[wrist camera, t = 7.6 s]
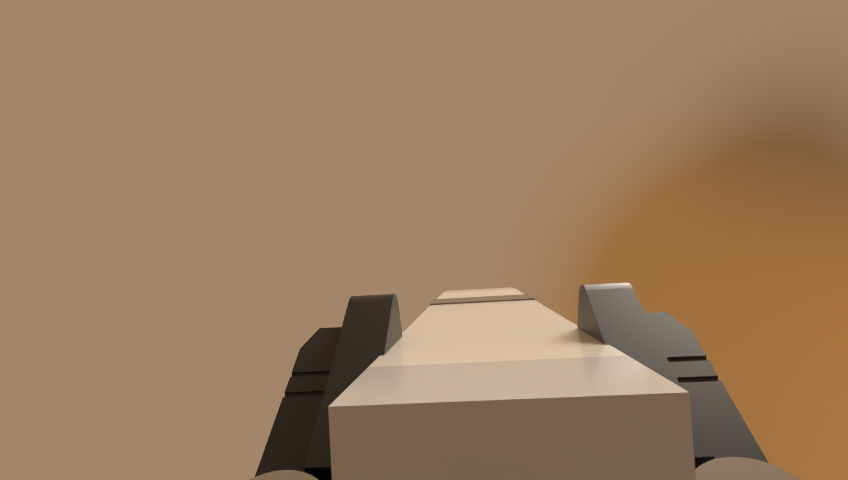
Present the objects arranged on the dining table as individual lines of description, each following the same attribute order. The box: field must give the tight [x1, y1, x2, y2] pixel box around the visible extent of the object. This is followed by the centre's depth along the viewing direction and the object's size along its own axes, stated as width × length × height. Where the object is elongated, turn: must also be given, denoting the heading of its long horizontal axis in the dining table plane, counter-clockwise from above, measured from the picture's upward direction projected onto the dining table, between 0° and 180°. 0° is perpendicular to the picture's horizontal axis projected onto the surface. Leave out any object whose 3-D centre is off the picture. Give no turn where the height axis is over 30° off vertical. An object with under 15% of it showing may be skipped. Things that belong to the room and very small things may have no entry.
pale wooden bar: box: [328, 287, 696, 480], centre depth 16 cm, size 22×3×3 cm, turn 175°
